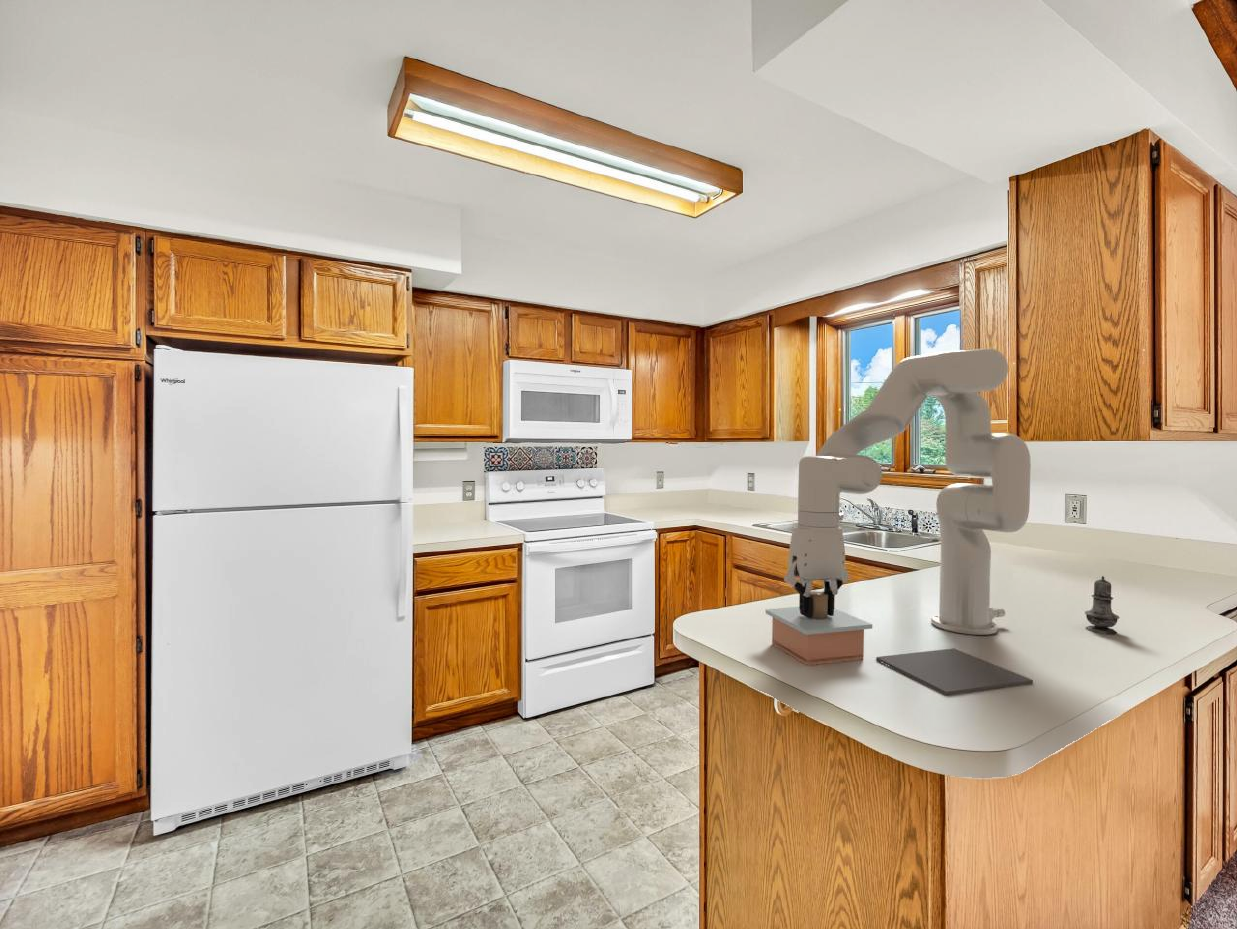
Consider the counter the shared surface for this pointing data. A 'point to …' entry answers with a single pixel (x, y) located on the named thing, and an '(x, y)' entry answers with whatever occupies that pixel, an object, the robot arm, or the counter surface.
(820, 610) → the lid
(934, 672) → the mat
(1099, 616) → the salt shaker
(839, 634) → the open storage tray
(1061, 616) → the counter surface
